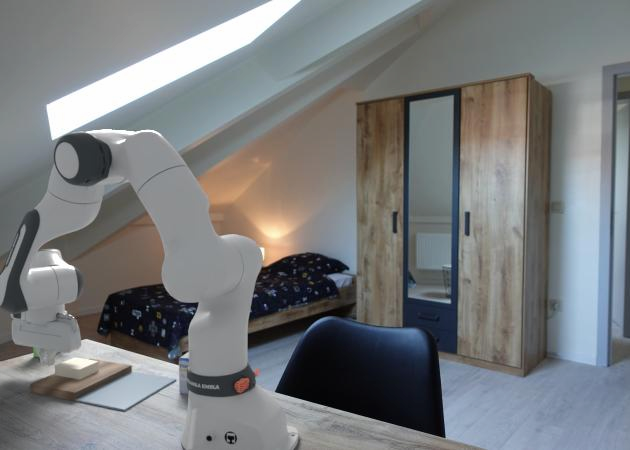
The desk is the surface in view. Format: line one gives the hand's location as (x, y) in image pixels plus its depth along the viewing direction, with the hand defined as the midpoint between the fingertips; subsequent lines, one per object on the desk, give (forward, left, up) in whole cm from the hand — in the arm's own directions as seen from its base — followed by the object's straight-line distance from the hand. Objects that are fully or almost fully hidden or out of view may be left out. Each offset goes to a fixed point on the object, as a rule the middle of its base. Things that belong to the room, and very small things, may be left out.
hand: (47, 364), depth 123 cm
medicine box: (-40, -7, -3) cm, 41 cm away
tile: (-10, 0, -1) cm, 10 cm away
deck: (-12, 0, -3) cm, 12 cm away
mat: (-26, 0, -3) cm, 26 cm away
